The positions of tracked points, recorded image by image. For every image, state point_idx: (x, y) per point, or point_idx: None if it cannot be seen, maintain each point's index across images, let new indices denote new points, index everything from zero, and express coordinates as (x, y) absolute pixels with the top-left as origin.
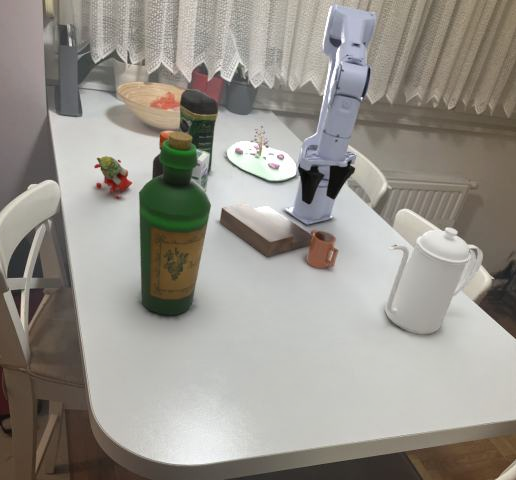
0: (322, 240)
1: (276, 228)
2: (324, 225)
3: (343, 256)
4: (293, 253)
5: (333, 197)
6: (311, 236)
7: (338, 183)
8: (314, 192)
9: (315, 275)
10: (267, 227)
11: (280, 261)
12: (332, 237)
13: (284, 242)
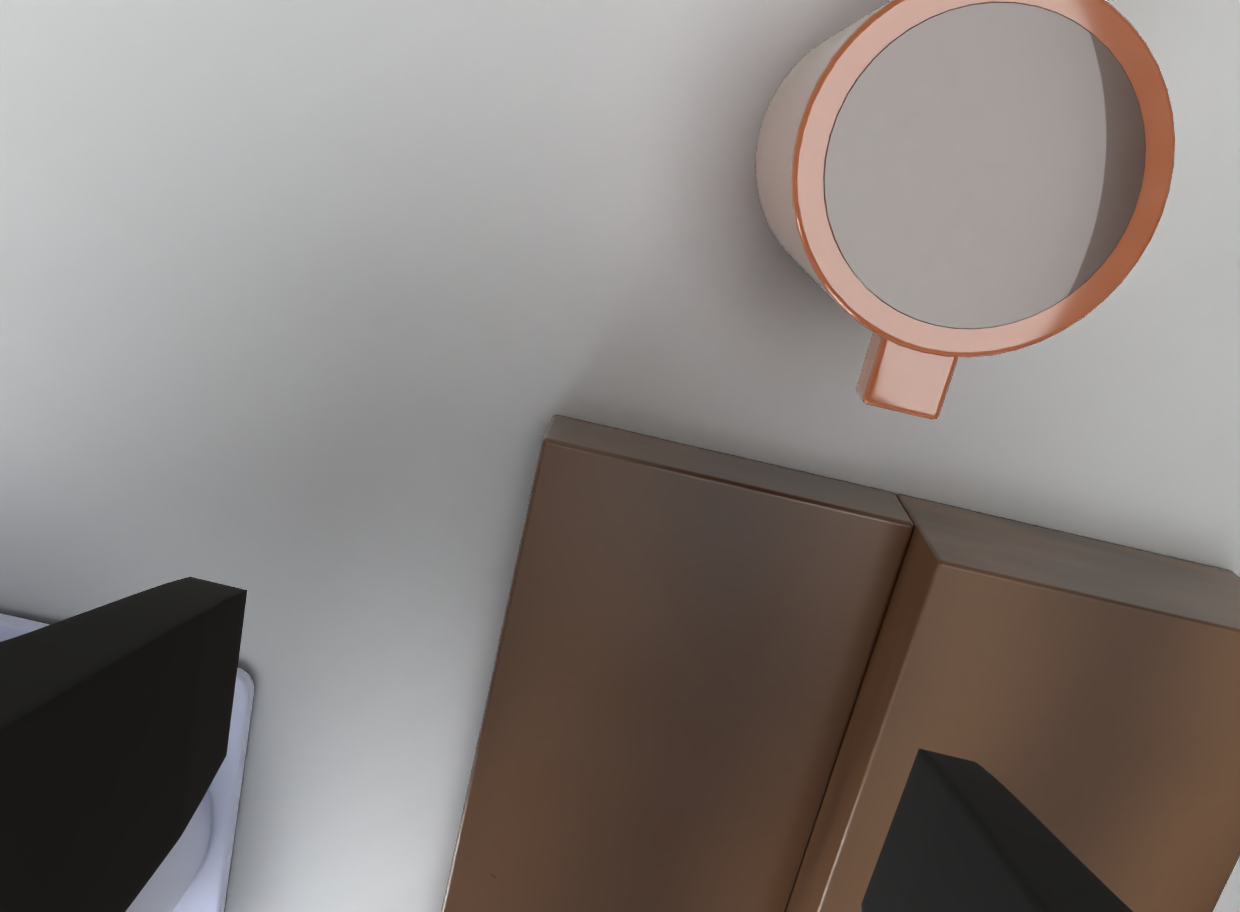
0: (1138, 124)
1: None
2: (53, 552)
3: (480, 15)
4: (927, 441)
5: (230, 615)
6: (577, 468)
7: (17, 796)
8: (1076, 910)
9: (1183, 9)
10: None
11: (1198, 439)
12: (900, 67)
13: (1068, 572)
